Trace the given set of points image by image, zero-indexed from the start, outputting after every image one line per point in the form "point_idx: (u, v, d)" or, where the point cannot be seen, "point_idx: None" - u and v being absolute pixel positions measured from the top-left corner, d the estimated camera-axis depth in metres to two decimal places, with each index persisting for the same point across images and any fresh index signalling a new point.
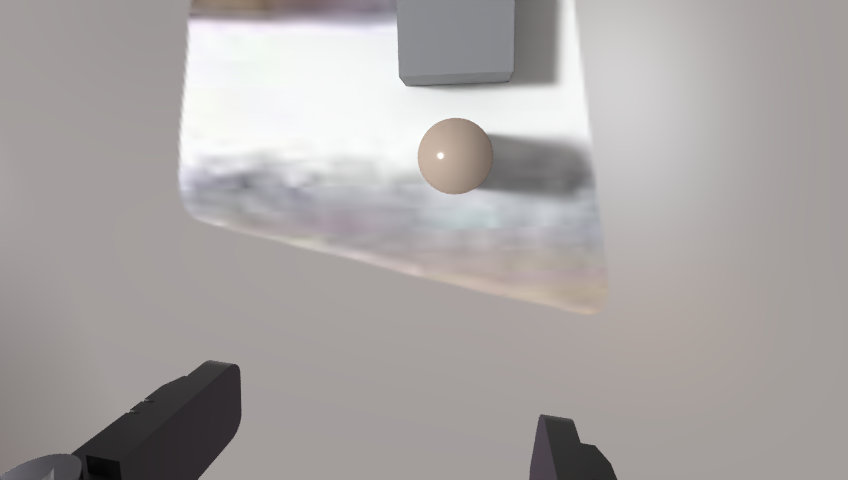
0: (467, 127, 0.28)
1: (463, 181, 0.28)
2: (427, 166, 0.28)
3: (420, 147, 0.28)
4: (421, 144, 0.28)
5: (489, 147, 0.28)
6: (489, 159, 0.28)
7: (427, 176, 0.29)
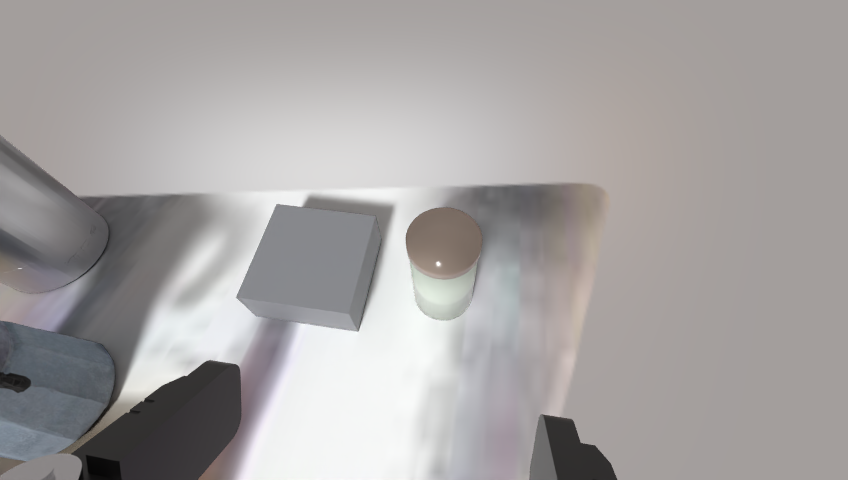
0: (417, 224, 0.28)
1: (469, 234, 0.28)
2: (449, 264, 0.26)
3: (428, 268, 0.26)
4: (425, 267, 0.26)
5: (440, 209, 0.29)
6: (451, 210, 0.29)
7: (459, 265, 0.26)
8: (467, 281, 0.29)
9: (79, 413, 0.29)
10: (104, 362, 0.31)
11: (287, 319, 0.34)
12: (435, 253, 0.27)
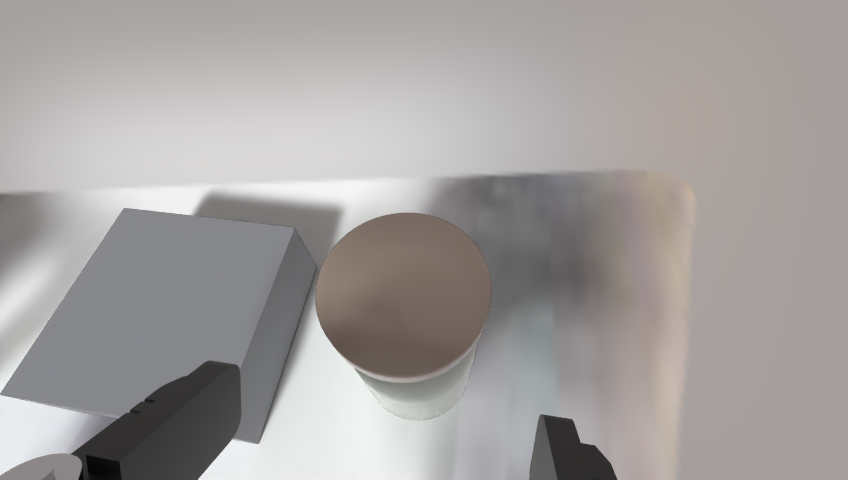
0: (346, 251, 0.13)
1: (462, 274, 0.12)
2: (412, 351, 0.11)
3: (361, 361, 0.11)
4: (354, 358, 0.11)
5: (399, 217, 0.13)
6: (423, 219, 0.13)
7: (438, 355, 0.11)
8: (458, 372, 0.13)
9: None
10: None
11: None
12: (381, 322, 0.11)
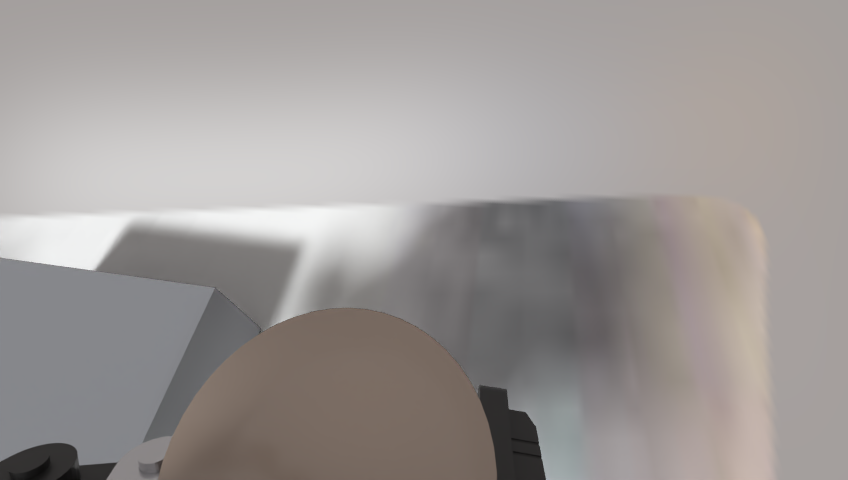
0: (231, 387, 0.07)
1: (442, 444, 0.06)
2: None
3: None
4: None
5: (333, 316, 0.08)
6: (375, 322, 0.07)
7: None
8: None
9: None
10: None
11: None
12: None
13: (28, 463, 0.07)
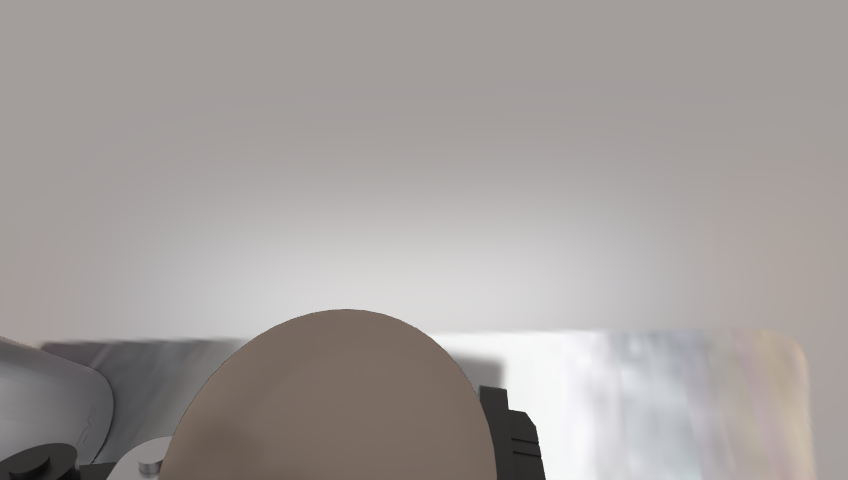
0: (230, 389, 0.07)
1: (441, 446, 0.06)
2: None
3: None
4: None
5: (333, 318, 0.08)
6: (375, 323, 0.07)
7: None
8: None
9: None
10: None
11: None
12: None
13: (28, 463, 0.07)
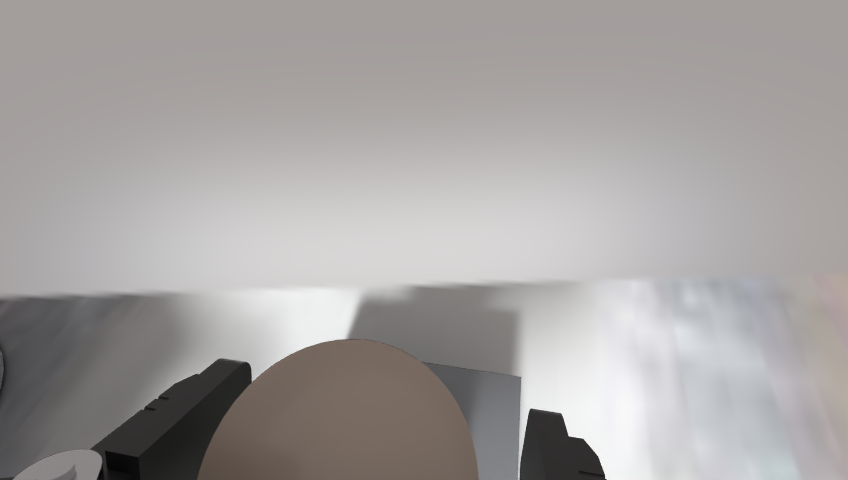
0: (254, 410, 0.08)
1: (433, 458, 0.08)
2: None
3: None
4: None
5: (340, 347, 0.09)
6: (377, 351, 0.09)
7: None
8: None
9: None
10: None
11: None
12: None
13: None
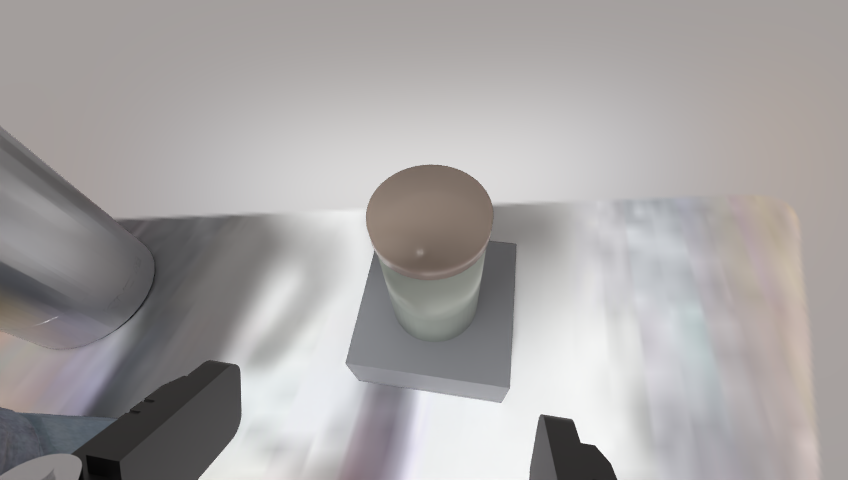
0: (387, 191, 0.17)
1: (472, 204, 0.17)
2: (437, 254, 0.15)
3: (401, 260, 0.15)
4: (396, 259, 0.15)
5: (424, 168, 0.18)
6: (442, 169, 0.18)
7: (455, 256, 0.15)
8: (469, 283, 0.18)
9: None
10: None
11: (403, 386, 0.25)
12: (414, 236, 0.16)
13: None
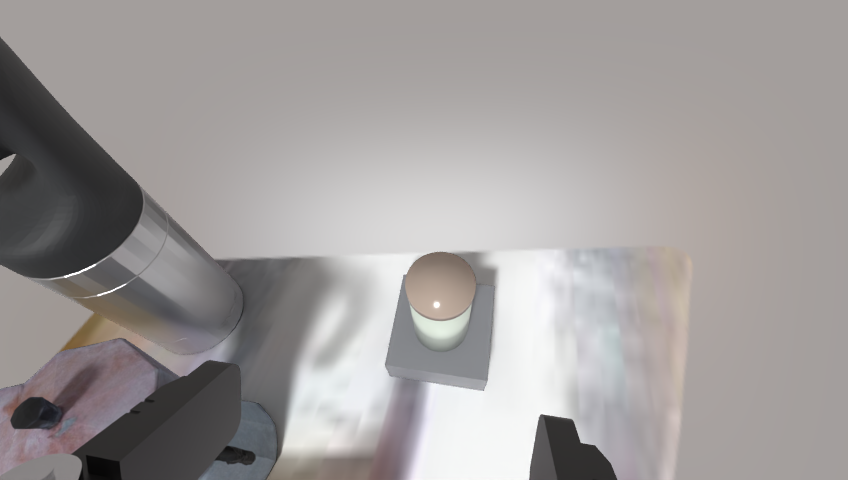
0: (416, 268, 0.30)
1: (464, 278, 0.30)
2: (445, 308, 0.29)
3: (426, 311, 0.29)
4: (423, 310, 0.29)
5: (437, 254, 0.31)
6: (447, 255, 0.31)
7: (455, 309, 0.29)
8: (462, 320, 0.31)
9: (259, 471, 0.33)
10: (268, 422, 0.36)
11: (419, 379, 0.38)
12: (432, 297, 0.29)
13: None
